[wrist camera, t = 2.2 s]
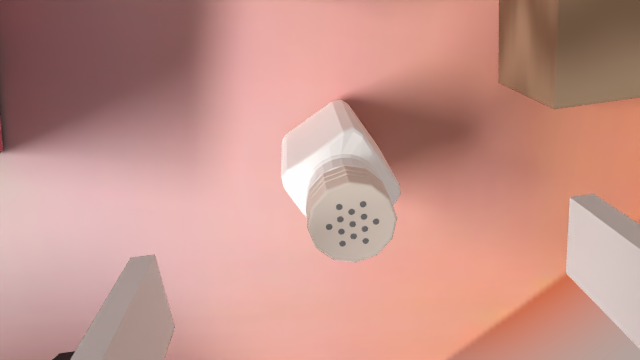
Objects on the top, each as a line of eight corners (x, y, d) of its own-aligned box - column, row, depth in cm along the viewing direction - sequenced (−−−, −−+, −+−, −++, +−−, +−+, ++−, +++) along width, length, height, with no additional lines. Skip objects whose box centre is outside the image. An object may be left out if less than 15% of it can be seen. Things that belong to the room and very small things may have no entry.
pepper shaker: (382, 152, 27) (429, 233, 18) (321, 193, 28) (338, 291, 19) (340, 91, 26) (368, 149, 17) (277, 137, 27) (273, 214, 18)
